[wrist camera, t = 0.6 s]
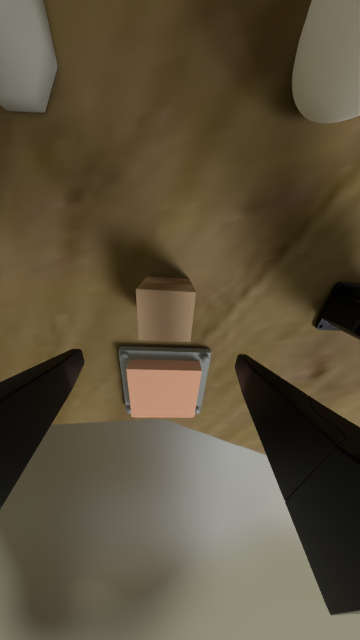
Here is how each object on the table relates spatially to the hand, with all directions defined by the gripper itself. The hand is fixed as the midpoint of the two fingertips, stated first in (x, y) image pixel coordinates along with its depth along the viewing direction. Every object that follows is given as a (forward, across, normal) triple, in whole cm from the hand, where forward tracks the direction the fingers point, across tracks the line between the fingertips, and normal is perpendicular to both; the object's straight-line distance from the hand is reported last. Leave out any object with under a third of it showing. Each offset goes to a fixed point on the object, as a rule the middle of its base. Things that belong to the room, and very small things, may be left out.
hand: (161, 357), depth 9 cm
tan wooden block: (+12, 0, 0) cm, 12 cm away
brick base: (+12, 0, +14) cm, 18 cm away
